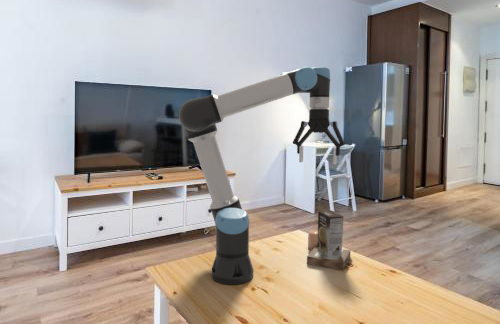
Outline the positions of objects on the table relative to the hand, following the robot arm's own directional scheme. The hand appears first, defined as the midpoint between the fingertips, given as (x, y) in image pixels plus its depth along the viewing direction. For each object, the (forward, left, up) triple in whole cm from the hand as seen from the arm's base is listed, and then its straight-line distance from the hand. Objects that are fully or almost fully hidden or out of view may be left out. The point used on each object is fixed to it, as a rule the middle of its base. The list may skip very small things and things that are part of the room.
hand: (317, 163), depth 141 cm
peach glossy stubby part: (-2, +10, -39) cm, 40 cm away
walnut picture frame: (+6, -1, -39) cm, 39 cm away
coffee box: (+6, -1, -36) cm, 36 cm away
